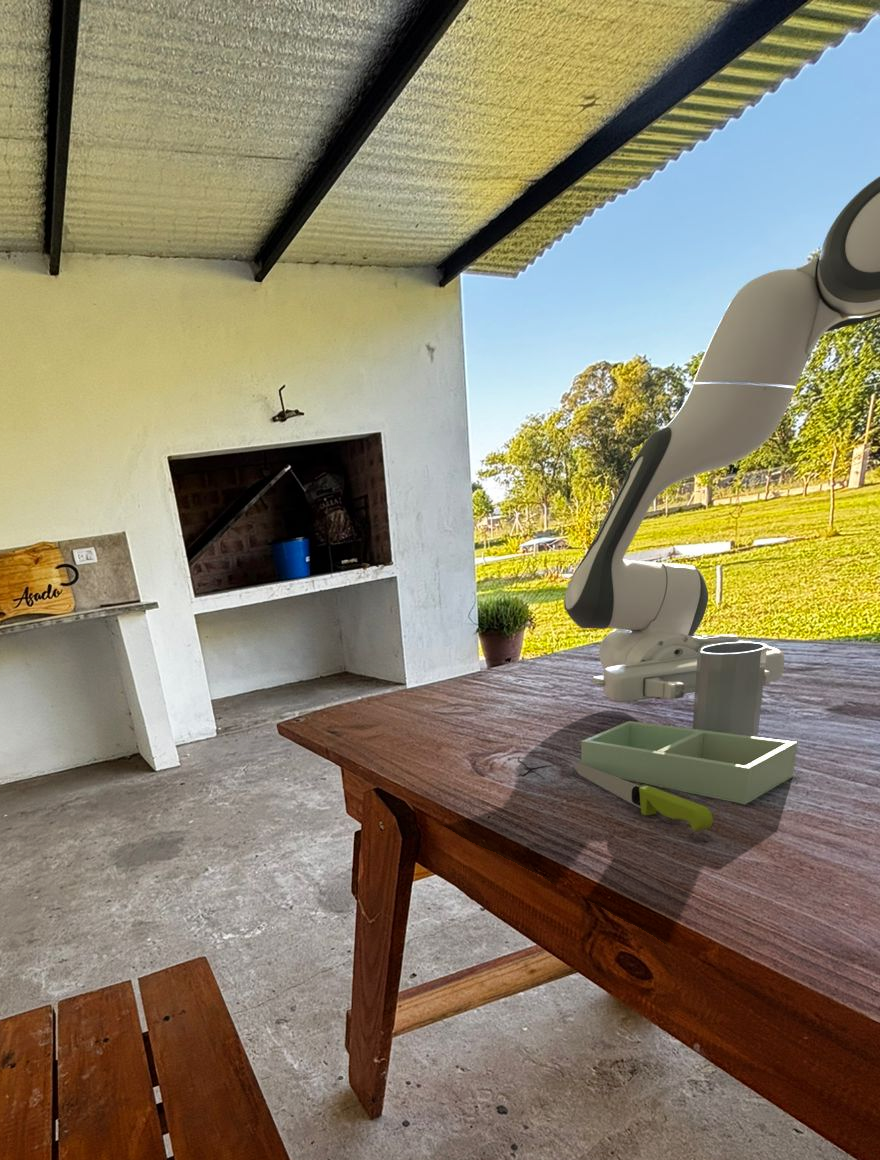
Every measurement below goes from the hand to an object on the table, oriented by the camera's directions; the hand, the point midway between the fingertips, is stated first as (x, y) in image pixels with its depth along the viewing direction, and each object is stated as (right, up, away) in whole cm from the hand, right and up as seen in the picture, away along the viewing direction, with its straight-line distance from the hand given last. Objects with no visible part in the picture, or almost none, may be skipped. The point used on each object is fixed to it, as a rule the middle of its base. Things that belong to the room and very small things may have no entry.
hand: (720, 686), depth 73 cm
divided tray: (-8, -11, -5) cm, 14 cm away
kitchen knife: (-16, -14, -9) cm, 23 cm away
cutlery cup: (+1, -7, +1) cm, 7 cm away
